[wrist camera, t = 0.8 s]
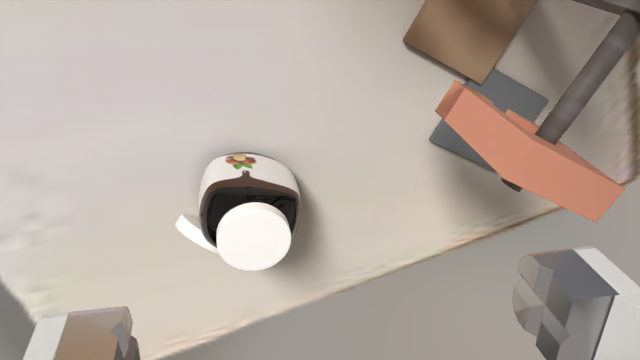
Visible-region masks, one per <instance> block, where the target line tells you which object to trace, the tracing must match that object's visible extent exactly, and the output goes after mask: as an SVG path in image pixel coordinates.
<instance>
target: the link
mask: <svg viewBox="0 0 640 360" xmlns="http://www.w3.org/2000/svg"><path fill="white" fill-rule="evenodd" d="M435 112H436V113H437V114H438V115H440V116H441V117H442V118H443V119H444V120H445V121H446V122H447V123H448V124H449V125H450V126H451V127H452V128H453V129H454V130H455V131H456V132H457V133H458V134H459V135H460V136H461V137H462V138H463V139H464V140H465V141H466V142H467V143H468V144H469V145H470V146H471V147H472V148H473V149H474V150H475V151H476V152H477V153H478V154H479V155H480V156H481V157H482V158H483V159H484V160H485V161H486V162H487V163H488V164H489V165H490V166H491V167H492V168H493V169H494V170H495V171H497V172H498V173H499V174H500V175H501V176H502V177H503V178H504V179H505V180H507V181H510V182H512V183H514V184H516V185H518V186H520V187H522V188H524V189H526V190H529V191H531V192H533V193H535V194H537V195H539V196H541V197H543V198H545V199H547V200H550V201H552V202H554V203H556V204H558V205H560V206H562V207H564V208H566V209H569V210H571V211H573V212H575V213H577V214H579V215H581V216H583V217H585V218H588V219H590V220H592V221H594V222H596V223H597V222H598V220H599V219H600V218H601V217H602V216H603V214H604V213H605V212H606V211H607V210H608V208H609V207H610V206H611V205H612V204H613V203H614V201H615V200H616V199H617V198H618V196H619V195H620V194H621V193H622V192H623V191H624V189H625V188H623V187H622V186H620V185H619V184H618V183H616V182H615V181H613V180H612V179H611V178H609V177H608V176H607V175H605V174H604V173H602V172H601V171H600V170H598V169H597V168H595V167H594V166H593V165H591V164H590V163H589V162H587V161H586V160H584V159H583V158H582V157H580V156H579V155H578V154H576V153H575V152H573V151H572V150H571V149H569V148H568V147H566V146H565V145H564V144H562V143H561V142H560V141H558V142H557V143H556V144H555V145H553V144H551V143H549V142H548V141H546V140H544V139H542V138H540V137H538V136H536V135H534V134H535V133H536V131H537V130H538V129H539V126H537V125H536V124H535V123H533V122H531V121H530V120H528V119H526V118H524V117H522V116H520V115H519V114H517V113H515V112H513V111H511V110H509V109H508V110H507V112H506V113H505V114H504V113H503V112H502V111H501V110H499V109H498V108H497V107H495V106H494V105H493V102H491V101H490V100H489V99H487V98H486V97H485V96H483V95H482V94H480V93H478V92H476V91H475V90H473V89H471V88H469V87H467V86H465V85H464V84H462V83H460V82H458V81H456V80H455V81H454V83H453V84H452V86H451V87H450V89H449V90H448V92H447V93H446V95H445V97H444V98H443V100H442V101H441V103H440V104H439V106H438V107H437V109H436V110H435Z"/></svg>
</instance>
